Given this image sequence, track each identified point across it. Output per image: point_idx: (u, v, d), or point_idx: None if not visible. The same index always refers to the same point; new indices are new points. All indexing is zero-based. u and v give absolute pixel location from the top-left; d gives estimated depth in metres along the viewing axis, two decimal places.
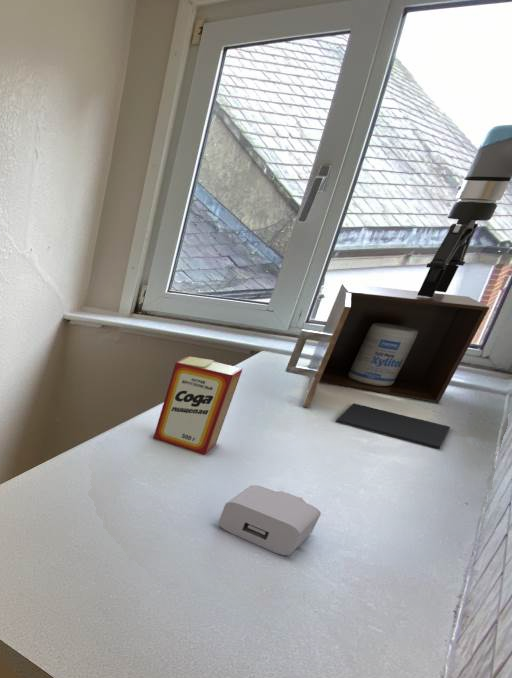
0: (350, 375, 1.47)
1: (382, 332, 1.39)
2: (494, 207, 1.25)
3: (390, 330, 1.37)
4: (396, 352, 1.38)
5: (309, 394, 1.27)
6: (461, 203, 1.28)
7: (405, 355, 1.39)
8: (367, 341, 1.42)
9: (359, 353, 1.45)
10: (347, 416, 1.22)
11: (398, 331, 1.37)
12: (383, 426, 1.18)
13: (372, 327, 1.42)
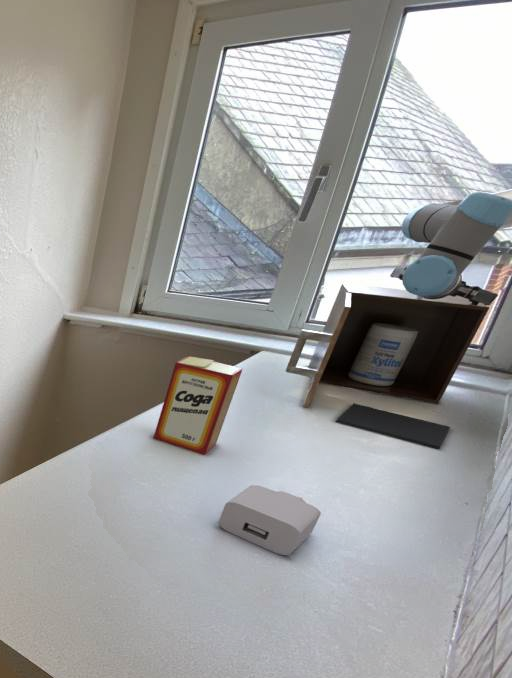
0: (350, 375, 1.47)
1: (382, 332, 1.39)
2: None
3: (390, 330, 1.37)
4: (396, 352, 1.38)
5: (309, 394, 1.27)
6: (446, 294, 1.17)
7: (405, 355, 1.39)
8: (367, 341, 1.42)
9: (359, 353, 1.45)
10: (347, 416, 1.22)
11: (398, 331, 1.37)
12: (383, 426, 1.18)
13: (372, 327, 1.42)
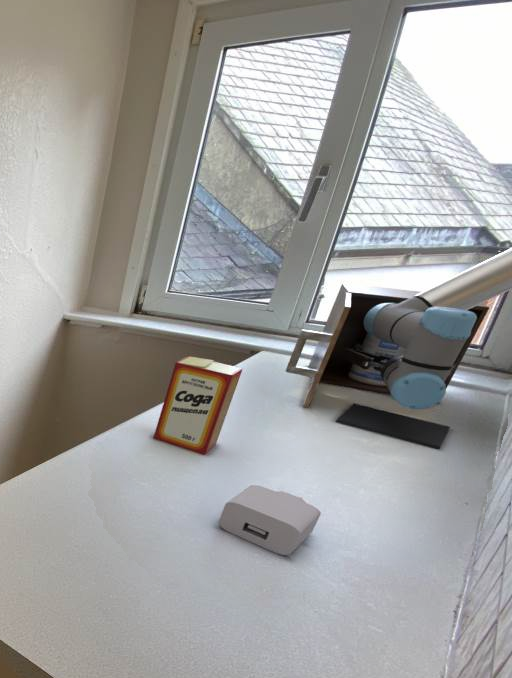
0: (350, 375, 1.47)
1: None
2: None
3: None
4: (396, 352, 1.38)
5: (309, 394, 1.27)
6: None
7: None
8: (367, 341, 1.42)
9: None
10: (347, 416, 1.22)
11: None
12: (383, 426, 1.18)
13: None
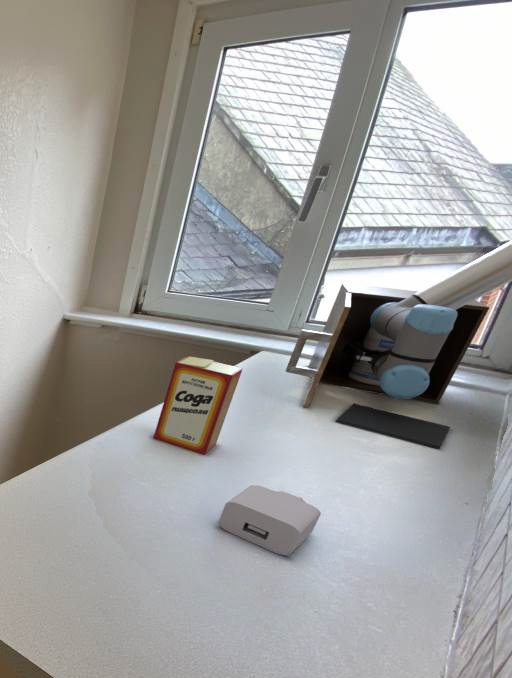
0: (350, 375, 1.47)
1: None
2: None
3: None
4: None
5: (309, 394, 1.27)
6: None
7: None
8: (366, 341, 1.42)
9: None
10: (347, 416, 1.22)
11: None
12: (383, 426, 1.18)
13: None
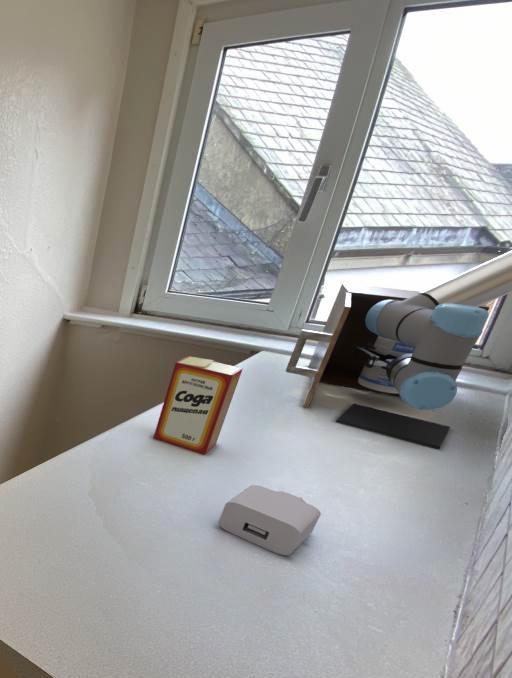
0: (360, 381, 1.34)
1: None
2: None
3: None
4: None
5: (309, 394, 1.27)
6: None
7: None
8: (379, 344, 1.29)
9: None
10: (347, 416, 1.22)
11: None
12: (383, 426, 1.18)
13: None
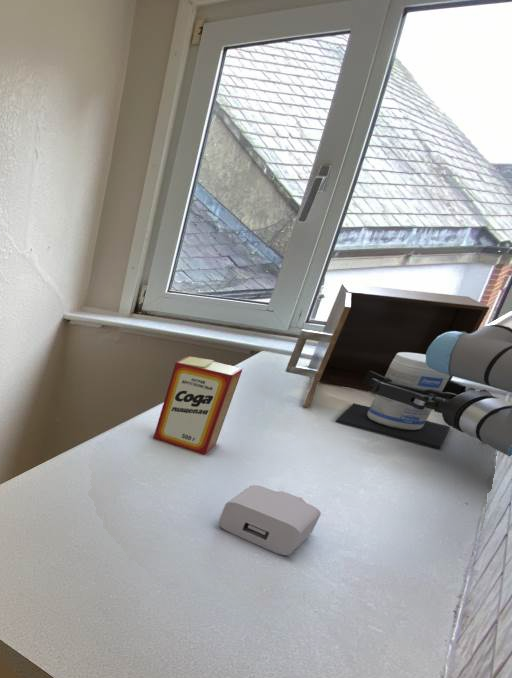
0: (377, 419, 1.19)
1: (422, 367, 1.11)
2: (493, 396, 0.99)
3: None
4: (437, 390, 1.12)
5: (309, 394, 1.27)
6: None
7: (441, 391, 1.13)
8: (399, 378, 1.14)
9: None
10: (347, 416, 1.22)
11: None
12: (383, 426, 1.18)
13: (403, 360, 1.13)
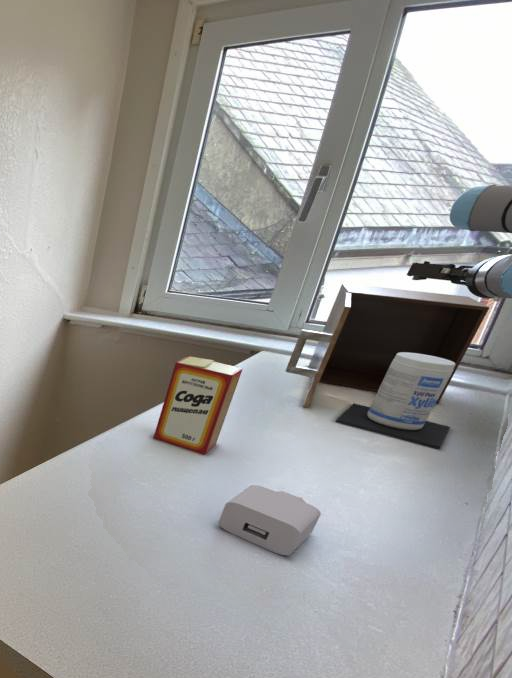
0: (377, 419, 1.19)
1: (422, 367, 1.11)
2: None
3: (433, 365, 1.10)
4: (437, 390, 1.12)
5: (309, 394, 1.27)
6: None
7: None
8: (399, 378, 1.14)
9: (387, 392, 1.16)
10: (347, 416, 1.22)
11: (442, 365, 1.10)
12: (383, 426, 1.18)
13: (404, 360, 1.13)
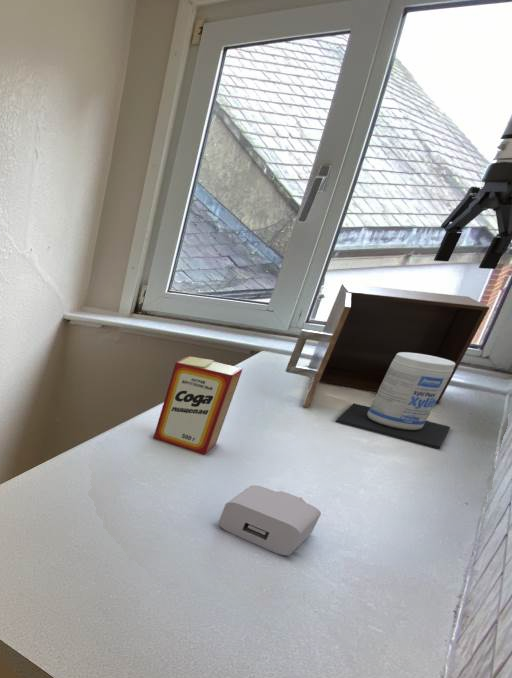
0: (377, 418, 1.19)
1: (422, 367, 1.11)
2: None
3: (433, 365, 1.10)
4: (437, 390, 1.12)
5: (309, 394, 1.27)
6: None
7: None
8: (399, 378, 1.14)
9: (387, 392, 1.16)
10: (347, 416, 1.22)
11: (442, 365, 1.10)
12: (383, 426, 1.18)
13: (404, 360, 1.13)
